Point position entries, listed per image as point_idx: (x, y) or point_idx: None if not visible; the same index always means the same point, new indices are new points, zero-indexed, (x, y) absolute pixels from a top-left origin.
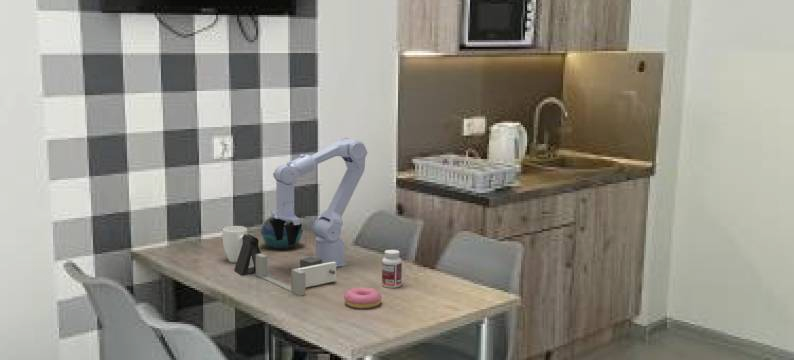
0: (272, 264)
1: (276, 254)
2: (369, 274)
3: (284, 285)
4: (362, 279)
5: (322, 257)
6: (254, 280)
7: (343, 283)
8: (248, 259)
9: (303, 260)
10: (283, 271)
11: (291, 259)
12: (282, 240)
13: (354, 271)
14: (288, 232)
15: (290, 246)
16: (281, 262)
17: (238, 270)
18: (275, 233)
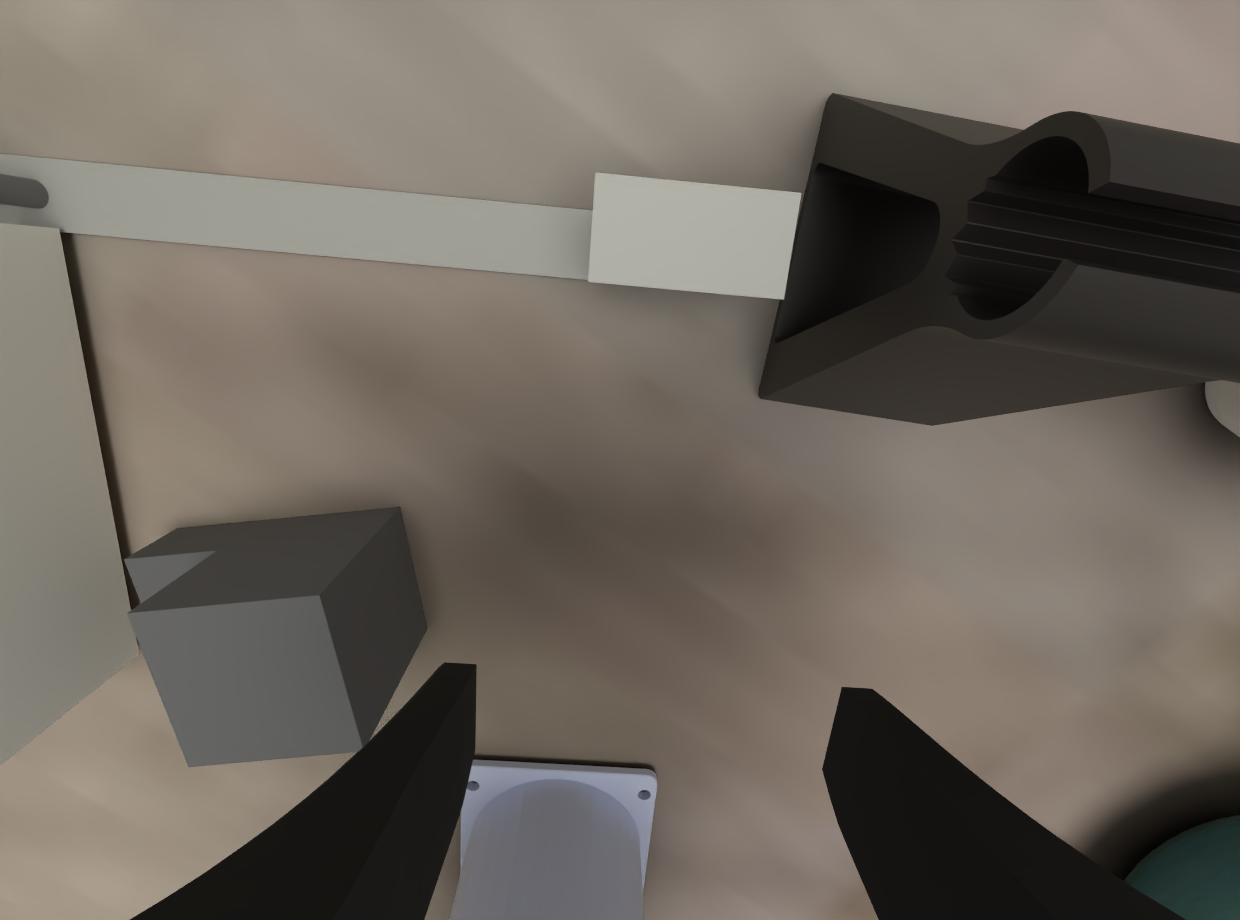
0: (895, 561)
1: (1089, 744)
2: None
3: (214, 219)
4: (90, 815)
5: (496, 862)
6: (589, 96)
7: None
8: (881, 149)
9: (261, 603)
10: (652, 508)
11: None
12: (1192, 912)
13: None
14: (247, 857)
15: None
16: (882, 648)
17: (941, 115)
18: (926, 770)
